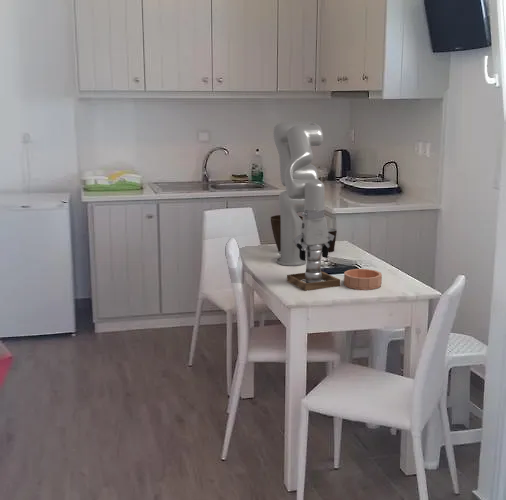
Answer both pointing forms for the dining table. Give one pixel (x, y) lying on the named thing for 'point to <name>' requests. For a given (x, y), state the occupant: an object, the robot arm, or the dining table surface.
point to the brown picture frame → (329, 282)
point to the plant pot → (277, 229)
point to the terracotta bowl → (362, 279)
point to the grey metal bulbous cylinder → (313, 263)
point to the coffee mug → (333, 232)
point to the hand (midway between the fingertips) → (313, 258)
